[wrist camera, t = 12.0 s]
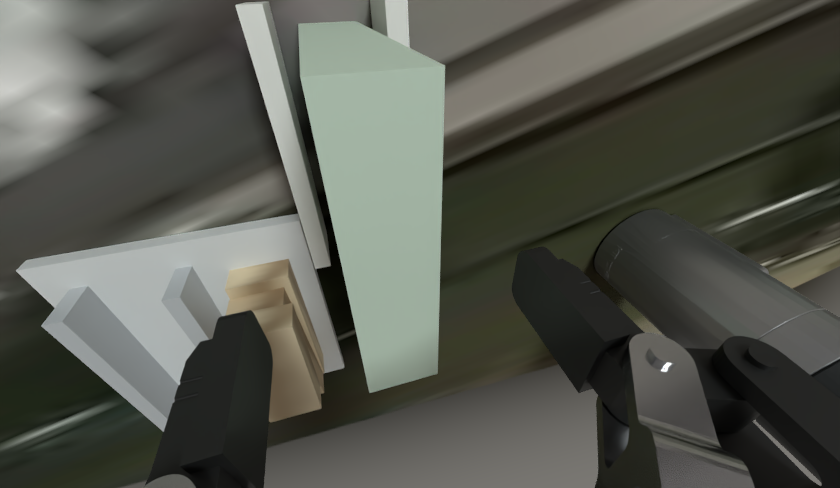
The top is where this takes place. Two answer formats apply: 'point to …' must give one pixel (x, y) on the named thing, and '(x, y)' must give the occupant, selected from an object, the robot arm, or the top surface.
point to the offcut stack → (282, 334)
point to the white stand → (279, 102)
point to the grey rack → (166, 302)
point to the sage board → (381, 187)
